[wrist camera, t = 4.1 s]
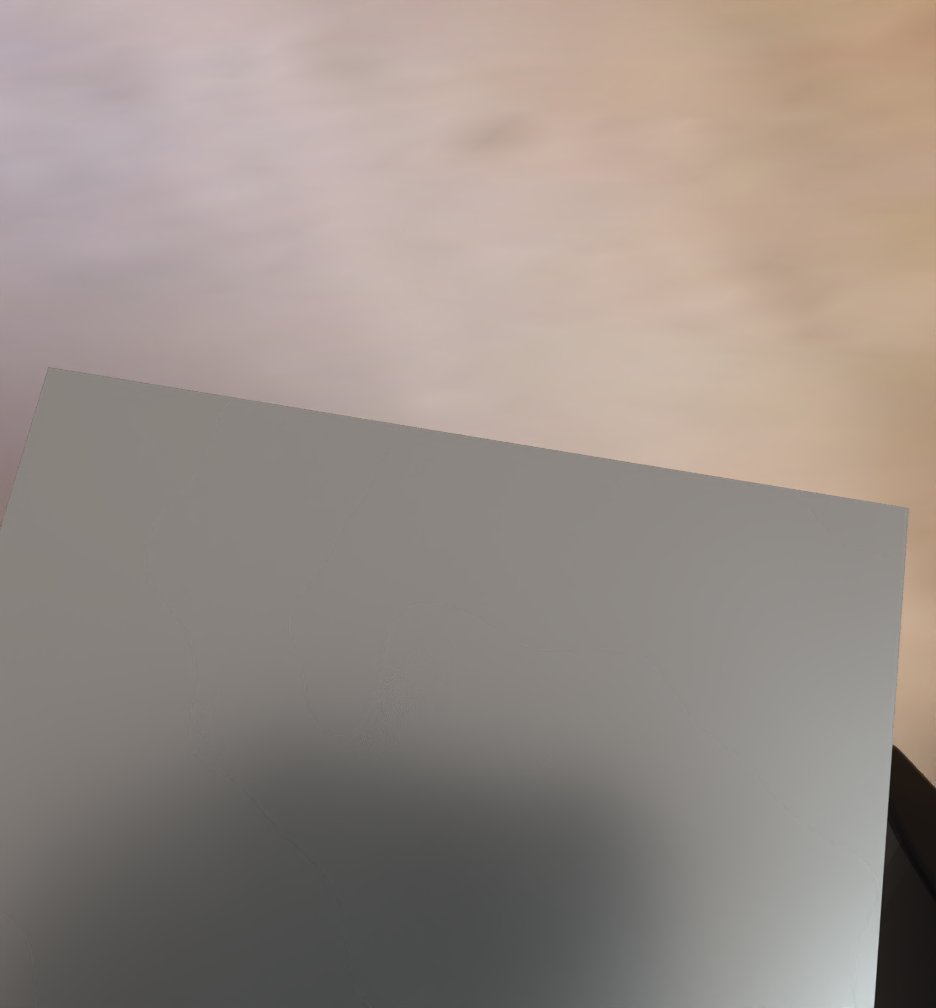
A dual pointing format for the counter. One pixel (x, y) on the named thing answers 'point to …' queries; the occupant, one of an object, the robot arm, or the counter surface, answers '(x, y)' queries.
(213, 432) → the steel block
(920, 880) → the robot arm
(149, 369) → the counter surface
